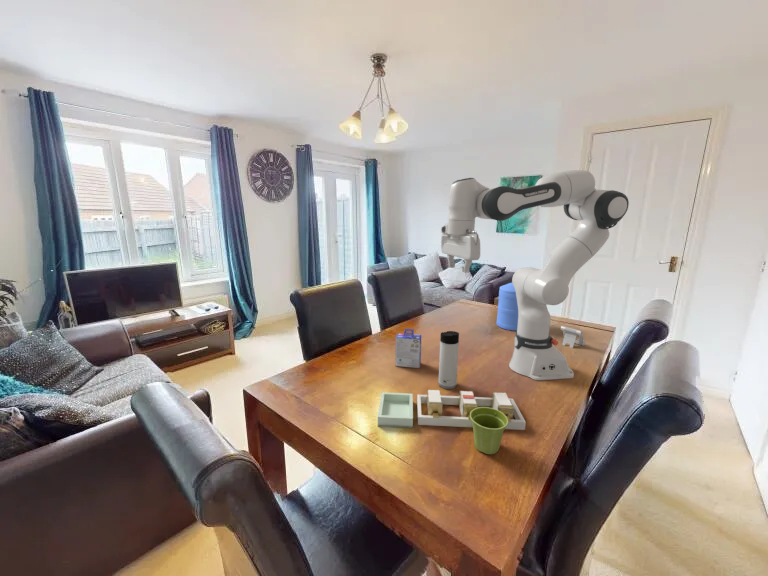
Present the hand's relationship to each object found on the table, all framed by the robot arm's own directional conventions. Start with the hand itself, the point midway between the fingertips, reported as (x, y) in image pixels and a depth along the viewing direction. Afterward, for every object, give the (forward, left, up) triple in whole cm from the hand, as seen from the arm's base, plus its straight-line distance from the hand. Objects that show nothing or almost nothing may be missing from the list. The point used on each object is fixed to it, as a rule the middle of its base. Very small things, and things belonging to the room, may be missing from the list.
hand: (458, 269), depth 112 cm
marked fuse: (-1, +23, -40) cm, 47 cm away
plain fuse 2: (-11, +23, -40) cm, 48 cm away
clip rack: (-1, +23, -40) cm, 47 cm away
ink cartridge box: (+17, -9, -41) cm, 45 cm away
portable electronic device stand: (-58, -35, -41) cm, 79 cm away
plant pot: (-4, +37, -41) cm, 55 cm away
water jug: (-38, -58, -41) cm, 80 cm away
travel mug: (+3, +6, -41) cm, 41 cm away
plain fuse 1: (+9, +23, -40) cm, 47 cm away
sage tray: (+20, +24, -40) cm, 51 cm away
